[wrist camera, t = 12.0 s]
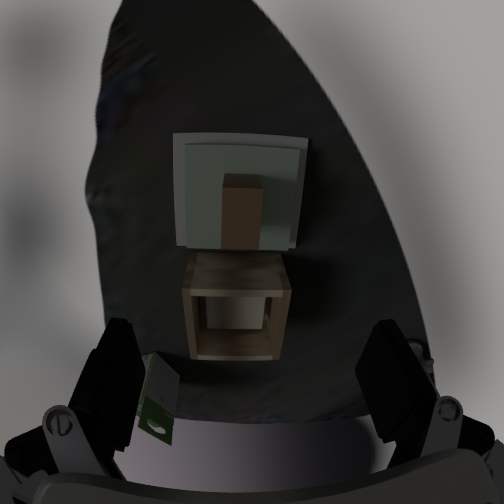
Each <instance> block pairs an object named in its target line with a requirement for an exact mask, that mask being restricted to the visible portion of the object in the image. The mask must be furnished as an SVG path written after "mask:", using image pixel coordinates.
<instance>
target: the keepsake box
mask: <svg viewBox="0 0 504 504" xmlns="http://www.w3.org/2000/svg"><path fill="white" fill-rule="evenodd" d="M291 292H292V289H291V286H290V283H289V279H288V276H287V273H286V270H285V267H284V263H283V260H282V257H281V254H278V253H228V252H191V255H190V259H189V262H188V266H187V270H186V274H185V278H184V282H183V286H182V295H183V304H184V312H185V321H186V328H187V336H188V343H189V350H190V356H191V359H198V360H279V357H280V352H281V347H282V342H283V336H284V331H285V326H286V320H287V315H288V309H289V303H290V298H291Z"/></svg>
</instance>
